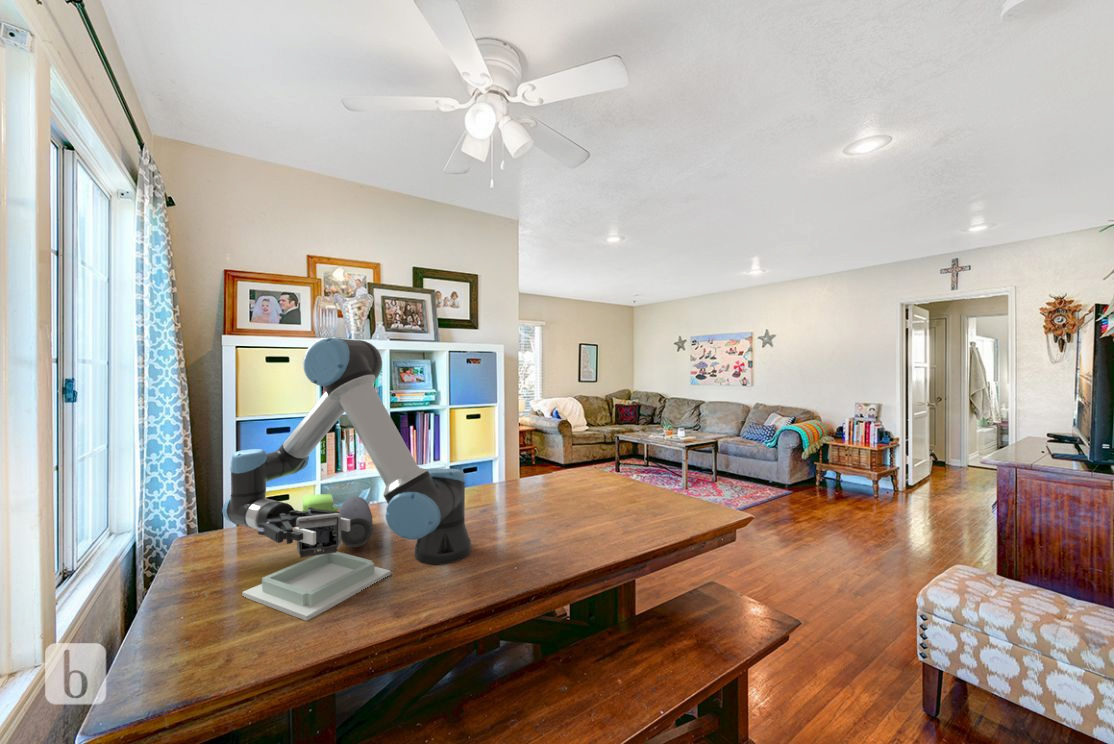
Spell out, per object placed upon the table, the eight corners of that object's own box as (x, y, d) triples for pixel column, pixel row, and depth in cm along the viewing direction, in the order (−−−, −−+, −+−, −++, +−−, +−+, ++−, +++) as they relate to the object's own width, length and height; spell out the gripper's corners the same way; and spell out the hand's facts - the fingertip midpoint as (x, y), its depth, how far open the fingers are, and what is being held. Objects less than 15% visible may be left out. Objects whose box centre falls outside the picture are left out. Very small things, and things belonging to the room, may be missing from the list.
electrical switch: (341, 545, 108) (341, 509, 107) (340, 556, 103) (340, 518, 102) (297, 552, 104) (297, 514, 103) (294, 563, 100) (293, 523, 99)
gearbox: (338, 535, 135) (339, 505, 135) (301, 540, 130) (302, 508, 130) (335, 517, 151) (336, 489, 151) (301, 521, 146) (303, 492, 146)
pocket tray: (390, 574, 109) (390, 560, 109) (306, 620, 89) (306, 603, 89) (330, 558, 118) (330, 545, 118) (242, 596, 98) (242, 580, 98)
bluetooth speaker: (374, 548, 124) (374, 513, 124) (338, 554, 120) (338, 518, 120) (370, 523, 145) (370, 492, 145) (338, 527, 141) (338, 496, 141)
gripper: (310, 518, 121) (369, 532, 111) (225, 546, 102) (287, 566, 92) (310, 491, 121) (369, 503, 111) (225, 513, 102) (287, 530, 92)
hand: (332, 531), depth 101 cm, fingers closed on electrical switch, 8 cm apart
